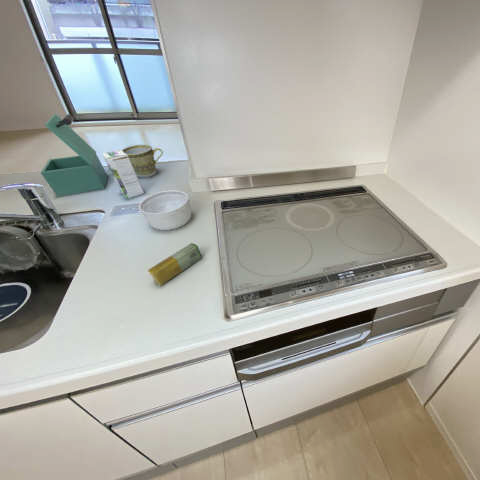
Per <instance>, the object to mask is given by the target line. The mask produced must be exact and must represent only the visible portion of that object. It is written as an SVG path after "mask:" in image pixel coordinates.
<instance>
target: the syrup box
mask: <svg viewBox="0 0 480 480" xmlns="http://www.w3.org/2000/svg"><path fill="white" fill-rule="evenodd" d="M122 150H123V149H117V150H110V151H106V152H104V153H102V157H103V159H104V160H105V163H106V165H107V167H108V169H109V170H110V173H111V175H112V177H113V179H114V181H115V183H116V185H117V187H118V189H119V191H120V193H121V194H122V196H124V198H126V199H128V200H129V199H132V198H134V197H138V196H140V195H143V194H145V192H144V189H143V187H142V185H141V182H140V180H139V178H138V175H137V174H136V173H135V171H134V169H133V167H132V164H131V162H130V160H129V158H128V155H127V154H126V153H125V152H123V151H122Z"/></svg>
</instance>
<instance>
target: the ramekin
mask: <svg viewBox="0 0 480 480" xmlns="http://www.w3.org/2000/svg"><path fill="white" fill-rule="evenodd" d="M138 209H139V211H140V213H141V214H142V216H143V217H144V218H145V219H146V221H147V222H148V224H149V225H151V227H152V228H154V229H156V230H160V231H171V230H175V229H178V228H181V227H183V226H184V225H186V224H187V223H188V222H189V221H190V219H191V217H192V209H191V204H190V198H189V196H188V194H187V193H186V192H184V191H181V190H175V189H172V190H171V189H170V190H169V189H168V190H163V191H157V192H155V193H153V194H150V195H148V196H146V197H145V198H143V199H142V200H141V201H140V202H139V204H138Z"/></svg>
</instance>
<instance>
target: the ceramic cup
mask: <svg viewBox="0 0 480 480" xmlns="http://www.w3.org/2000/svg"><path fill="white" fill-rule="evenodd" d="M121 150H122V151H123V152H125V153H126V154H127V155H128V158H129V160H130V162H131V164H132V167H133V169H134V171H135V173H136V176H137V177H140V178H151V177H152V176H155V175H156V174H157V167H156V164H157V162H158V161H159V159H160V158H161V157H162V156H163V153H164V151H163V150H162V149H161V148H158V147H157V148H154V149H153V146H152V145H149V144H134V145H133V144H132V145H128V146H126V147H124V148H122V149H121ZM158 151H159V152H161V154H160V155H159V156H158V157H157V159H155V157H154V156H155V153H156V152H158Z"/></svg>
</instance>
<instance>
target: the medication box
mask: <svg viewBox="0 0 480 480" xmlns="http://www.w3.org/2000/svg"><path fill="white" fill-rule="evenodd" d="M200 259H203V255H202V253H201V250H200V249H199V246H198V245H197V244H195V243H194V242H193V243H192V242H191V243H189V244H187V245H186V246H184V247H183V248H181V249H179V250H178V251H176V252H174V253H173V254H171V255H169V256H168V257H166V258H165V259H163V260H162V261H160V262H158V263H157V264H156V265H154V266H152V267H150V268H149V269H147V272H148V273H149V275H150V276H151V278H152V279H153V283H155V284H157V285H159V286H162V285H164V284H165V283H166V282H169V281H170V280H171V279H173V278H174V277H175V276H177V275H178V274H180V273H181V272H183V271H184V270H186V269H187V268H189V267H190V266H192V265H193V264H195V263H197V262H198V261H200Z"/></svg>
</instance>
